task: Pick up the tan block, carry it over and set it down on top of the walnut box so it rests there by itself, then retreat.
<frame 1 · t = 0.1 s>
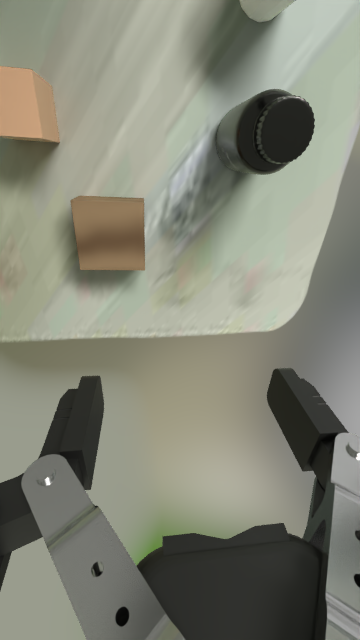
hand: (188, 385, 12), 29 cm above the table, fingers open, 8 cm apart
supplement bottle: (242, 140, 33), on the table
walnut box: (114, 229, 37), on the table
tan block: (32, 113, 29), on the table
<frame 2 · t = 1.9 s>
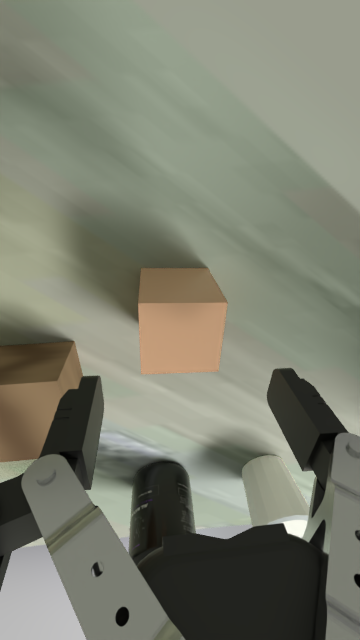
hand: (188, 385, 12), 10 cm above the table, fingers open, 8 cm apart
supplement bottle: (160, 475, 33), on the table
walnut box: (38, 379, 24), on the table
tan block: (174, 298, 21), on the table
white cylinder: (262, 467, 35), on the table
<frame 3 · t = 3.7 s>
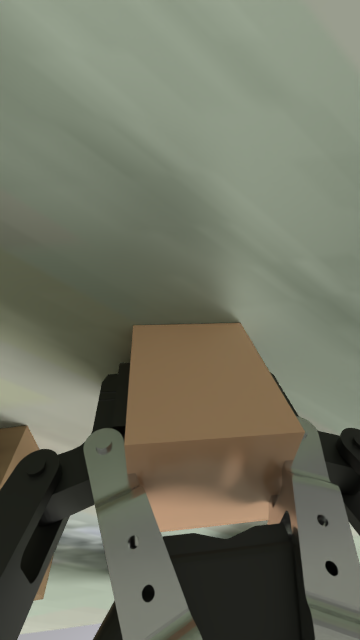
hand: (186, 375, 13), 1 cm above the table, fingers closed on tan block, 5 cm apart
tan block: (185, 366, 14), on the table, touching gripper
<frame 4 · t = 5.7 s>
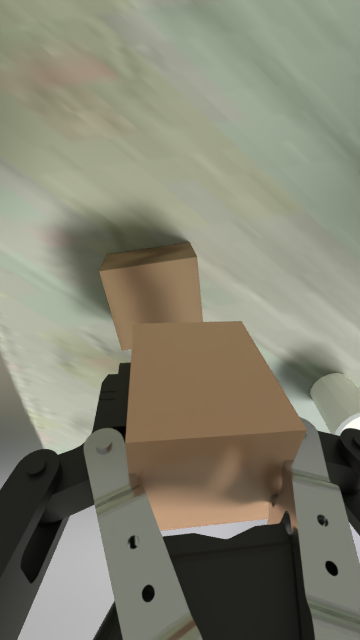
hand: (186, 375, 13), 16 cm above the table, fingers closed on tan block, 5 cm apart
walnut box: (155, 285, 28), on the table
tan block: (186, 364, 14), point 15 cm above the table, touching gripper
white cylinder: (328, 387, 38), on the table
when the fingers open (7 cm above the table, at t = 8.0 s): tan block drops 2 cm, resting on walnut box.
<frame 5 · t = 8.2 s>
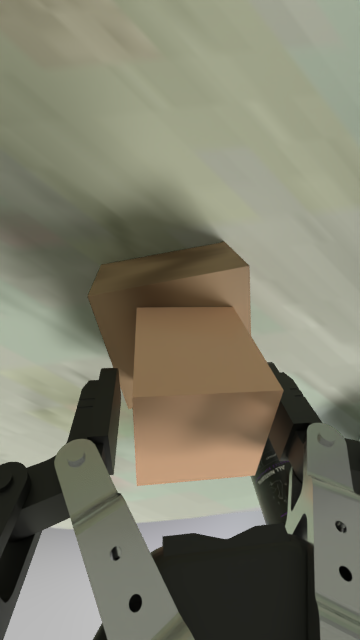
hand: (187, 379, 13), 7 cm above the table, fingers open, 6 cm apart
supplement bottle: (271, 439, 29), on the table
walnut box: (173, 306, 19), on the table, touching tan block
tan block: (183, 346, 15), point 5 cm above the table, touching walnut box
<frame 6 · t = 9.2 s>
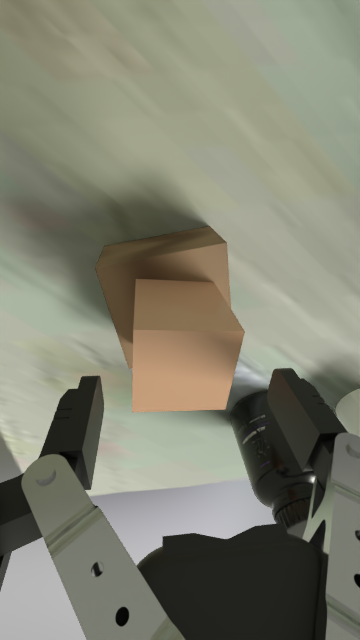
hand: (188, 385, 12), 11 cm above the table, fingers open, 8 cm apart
supplement bottle: (256, 409, 32), on the table
walnut box: (166, 283, 22), on the table, touching tan block
tan block: (172, 315, 18), point 5 cm above the table, touching walnut box
white cylinder: (356, 402, 34), on the table
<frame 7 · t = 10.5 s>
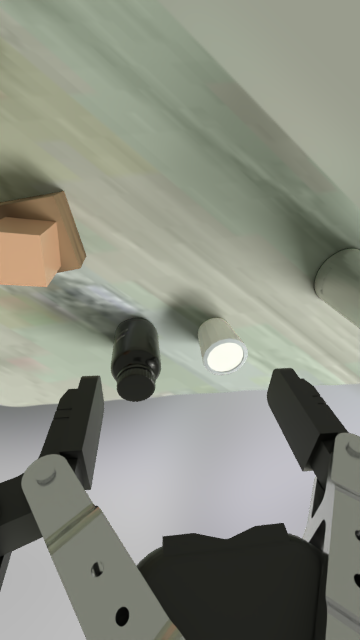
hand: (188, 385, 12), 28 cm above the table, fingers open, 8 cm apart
supplement bottle: (136, 334, 44), on the table
walnut box: (44, 230, 34), on the table, touching tan block
tan block: (34, 242, 30), point 5 cm above the table, touching walnut box
white cylinder: (213, 331, 46), on the table
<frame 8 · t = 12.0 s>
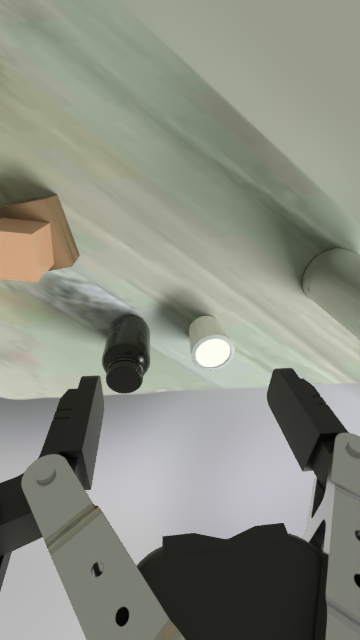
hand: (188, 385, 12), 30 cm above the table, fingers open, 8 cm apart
supplement bottle: (129, 330, 46), on the table
walnut box: (40, 232, 37), on the table, touching tan block
tan block: (30, 242, 32), point 5 cm above the table, touching walnut box
white cylinder: (204, 329, 47), on the table
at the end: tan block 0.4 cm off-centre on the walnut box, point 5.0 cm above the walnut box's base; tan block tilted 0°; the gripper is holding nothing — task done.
